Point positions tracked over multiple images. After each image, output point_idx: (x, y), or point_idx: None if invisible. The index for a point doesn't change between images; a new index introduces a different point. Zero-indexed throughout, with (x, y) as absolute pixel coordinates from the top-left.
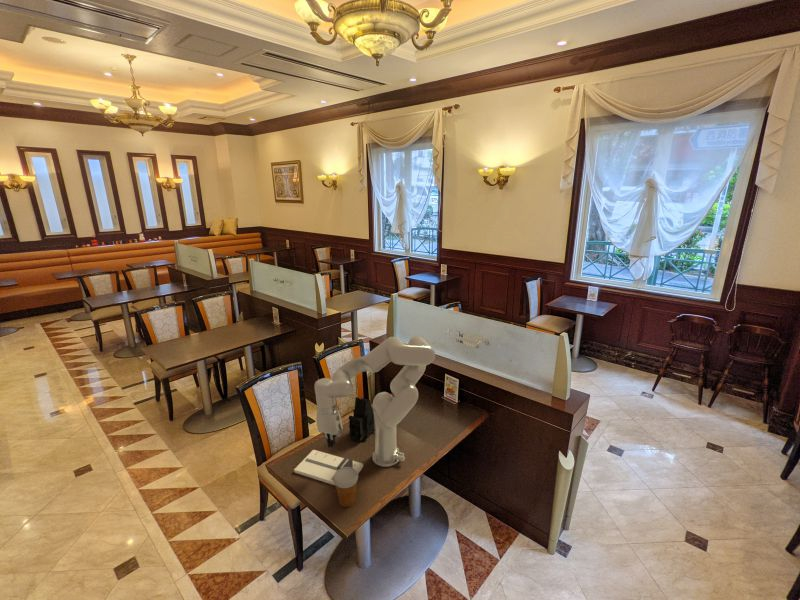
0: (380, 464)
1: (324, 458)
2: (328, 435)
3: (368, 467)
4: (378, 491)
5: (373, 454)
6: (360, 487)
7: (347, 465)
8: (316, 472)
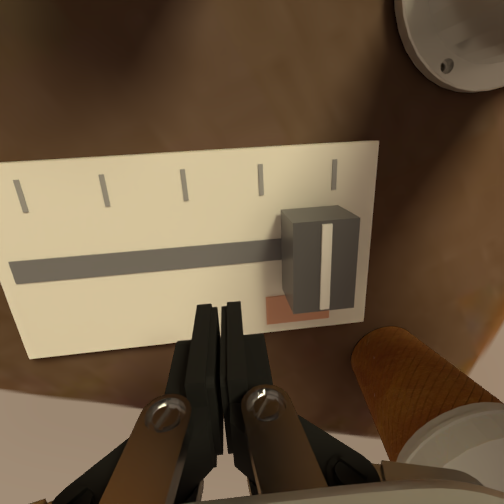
0: (482, 90)
1: (113, 209)
2: (187, 478)
3: (400, 132)
4: (496, 259)
5: (411, 6)
6: (409, 276)
7: (350, 274)
8: (161, 321)
